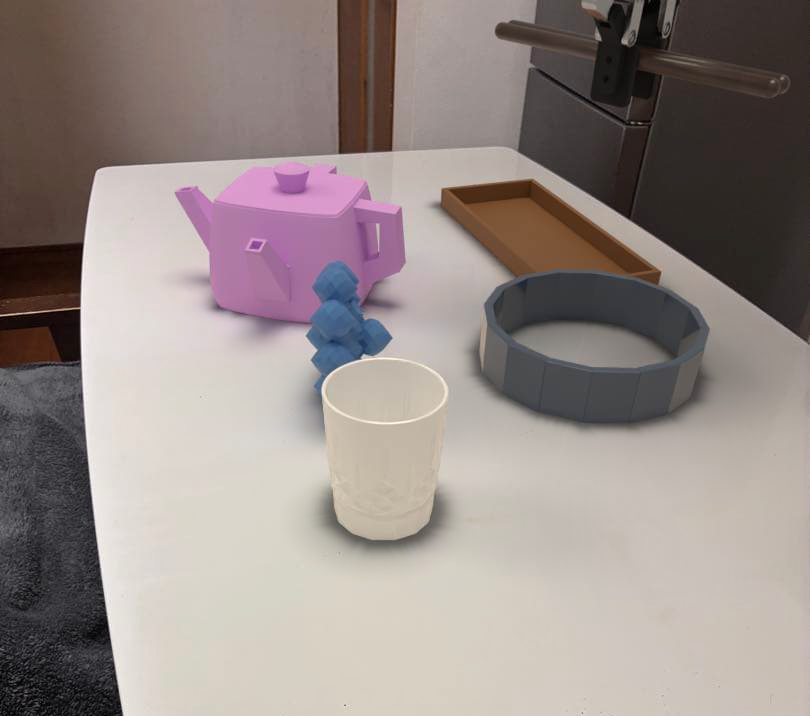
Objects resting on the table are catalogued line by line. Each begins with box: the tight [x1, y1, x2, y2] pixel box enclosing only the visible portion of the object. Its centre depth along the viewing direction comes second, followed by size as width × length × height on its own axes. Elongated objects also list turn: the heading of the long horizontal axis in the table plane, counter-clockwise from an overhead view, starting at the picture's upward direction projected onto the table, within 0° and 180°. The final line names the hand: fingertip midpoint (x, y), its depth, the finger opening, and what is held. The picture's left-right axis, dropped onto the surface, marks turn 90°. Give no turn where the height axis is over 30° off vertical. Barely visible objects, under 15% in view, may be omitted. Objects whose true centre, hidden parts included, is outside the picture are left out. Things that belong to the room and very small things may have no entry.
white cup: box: [321, 356, 450, 541], centre depth 56 cm, size 8×8×10 cm
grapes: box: [305, 261, 393, 397], centre depth 66 cm, size 12×7×12 cm, turn 0°
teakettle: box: [174, 161, 407, 324], centre depth 81 cm, size 17×17×12 cm
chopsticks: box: [494, 19, 791, 99], centre depth 63 cm, size 3×24×1 cm, turn 46°
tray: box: [440, 178, 662, 286], centre depth 94 cm, size 28×12×2 cm, turn 21°
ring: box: [478, 269, 711, 424], centre depth 74 cm, size 19×19×5 cm
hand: (622, 97), depth 65 cm, fingers closed on chopsticks, 2 cm apart
